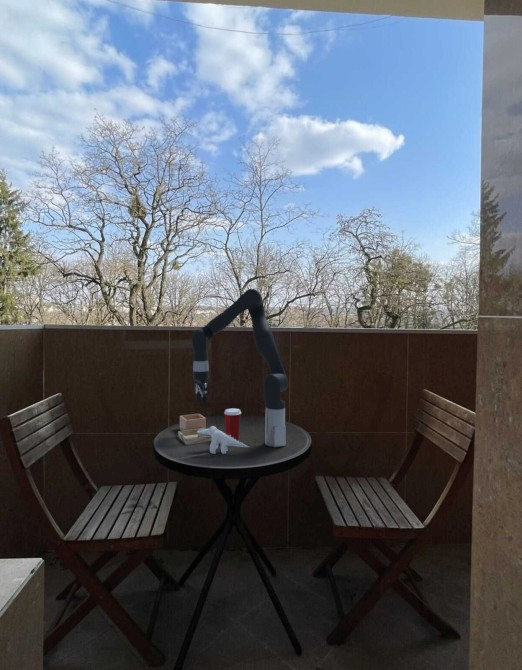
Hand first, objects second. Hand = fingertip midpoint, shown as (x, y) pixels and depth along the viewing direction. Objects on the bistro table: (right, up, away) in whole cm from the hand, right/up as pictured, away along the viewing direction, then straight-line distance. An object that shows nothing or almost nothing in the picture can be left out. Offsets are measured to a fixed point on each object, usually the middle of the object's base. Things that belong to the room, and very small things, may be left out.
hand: (201, 403), depth 176 cm
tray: (-2, -17, -4) cm, 18 cm away
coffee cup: (+16, -18, -4) cm, 24 cm away
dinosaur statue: (+13, -18, -20) cm, 30 cm away
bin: (-6, -17, +10) cm, 21 cm away
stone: (+1, -16, -2) cm, 17 cm away
